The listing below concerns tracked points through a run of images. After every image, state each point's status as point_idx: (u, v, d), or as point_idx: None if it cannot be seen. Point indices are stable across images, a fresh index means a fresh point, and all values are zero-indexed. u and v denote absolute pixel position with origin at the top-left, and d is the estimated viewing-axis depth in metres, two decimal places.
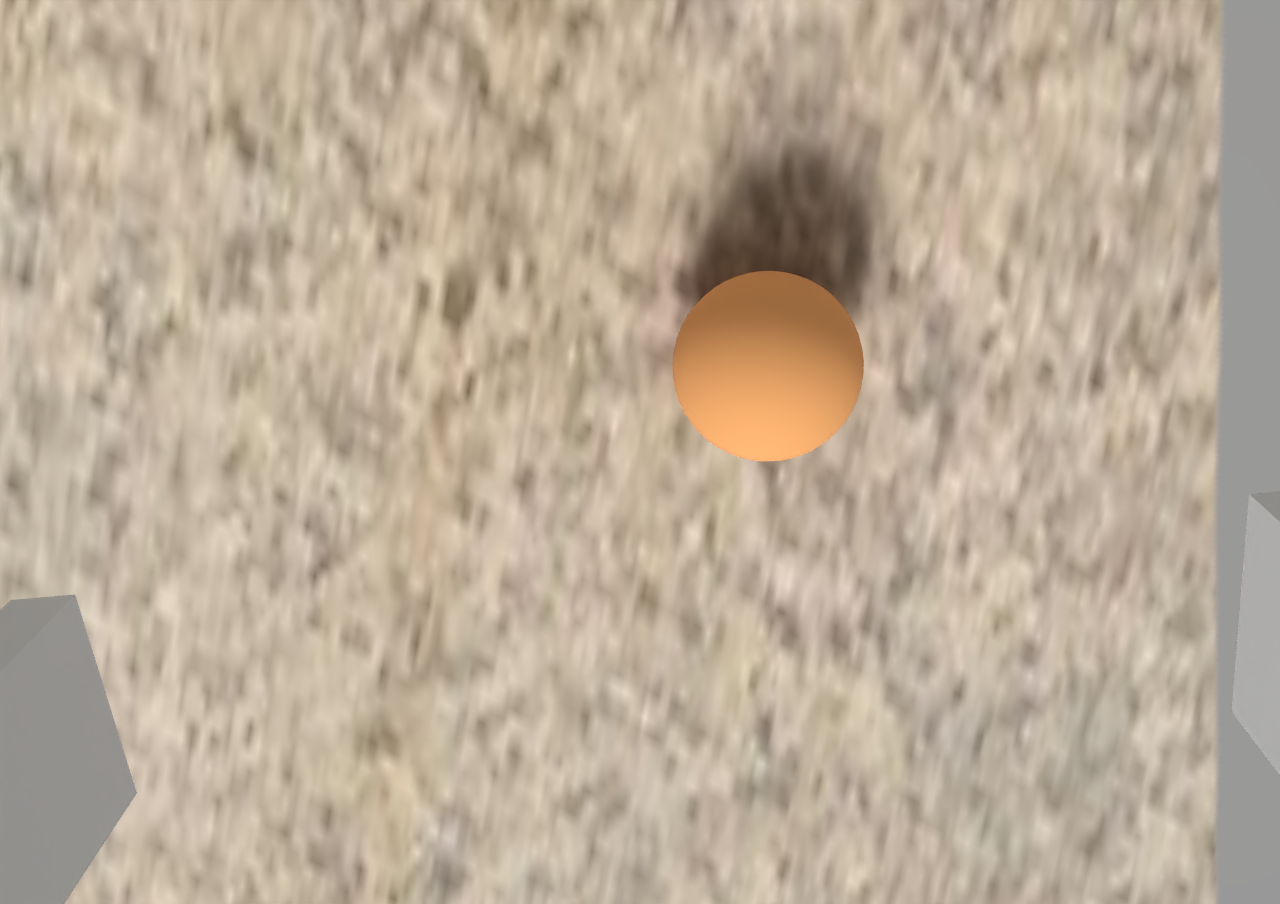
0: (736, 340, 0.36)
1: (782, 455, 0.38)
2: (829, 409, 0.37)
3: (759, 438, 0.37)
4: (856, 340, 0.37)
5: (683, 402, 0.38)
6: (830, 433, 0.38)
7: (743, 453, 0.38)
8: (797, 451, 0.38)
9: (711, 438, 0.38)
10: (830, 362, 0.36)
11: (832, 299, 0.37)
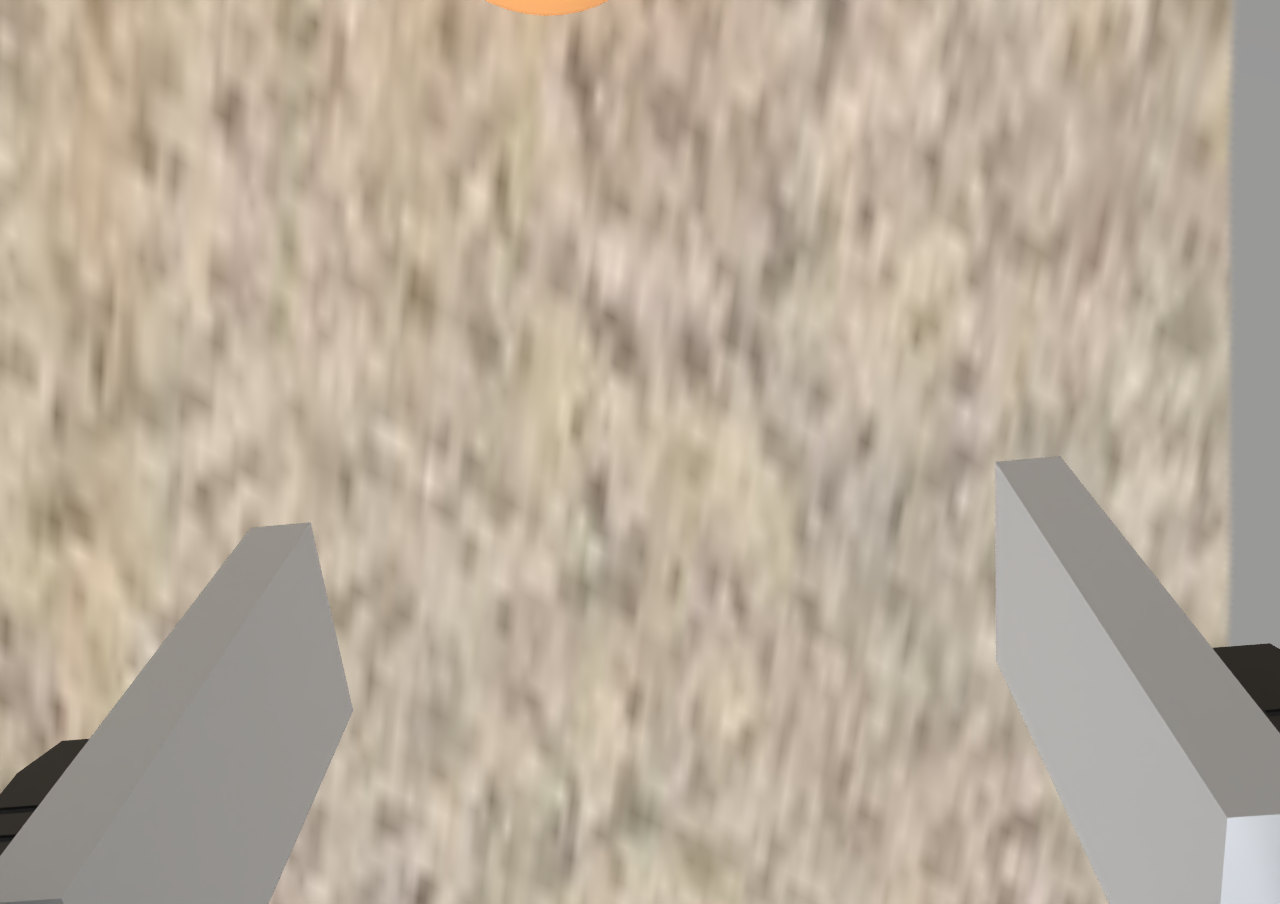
0: None
1: None
2: None
3: None
4: None
5: None
6: None
7: None
8: None
9: None
10: None
11: None
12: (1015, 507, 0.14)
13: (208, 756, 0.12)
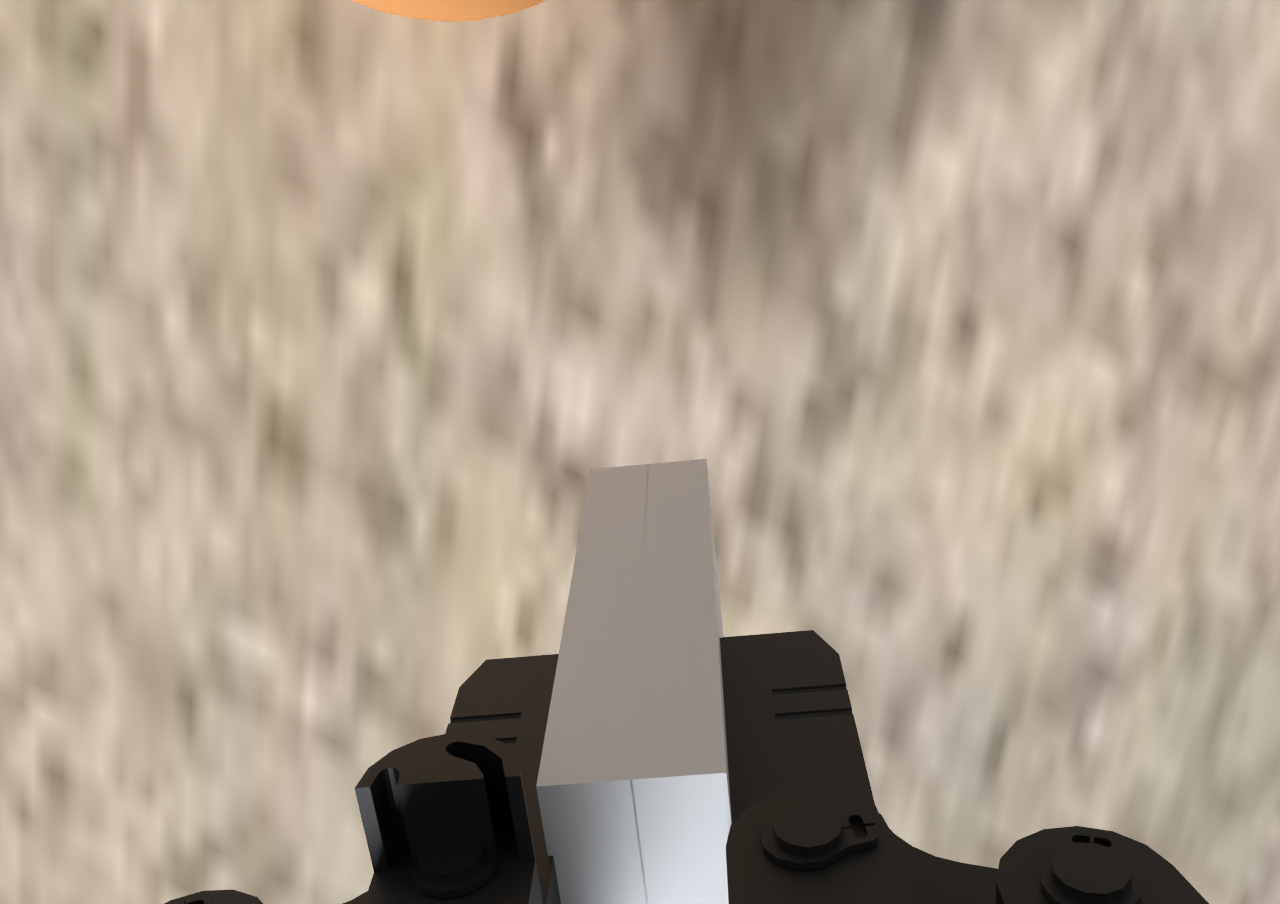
0: None
1: None
2: None
3: None
4: None
5: None
6: None
7: None
8: None
9: None
10: None
11: None
12: None
13: None
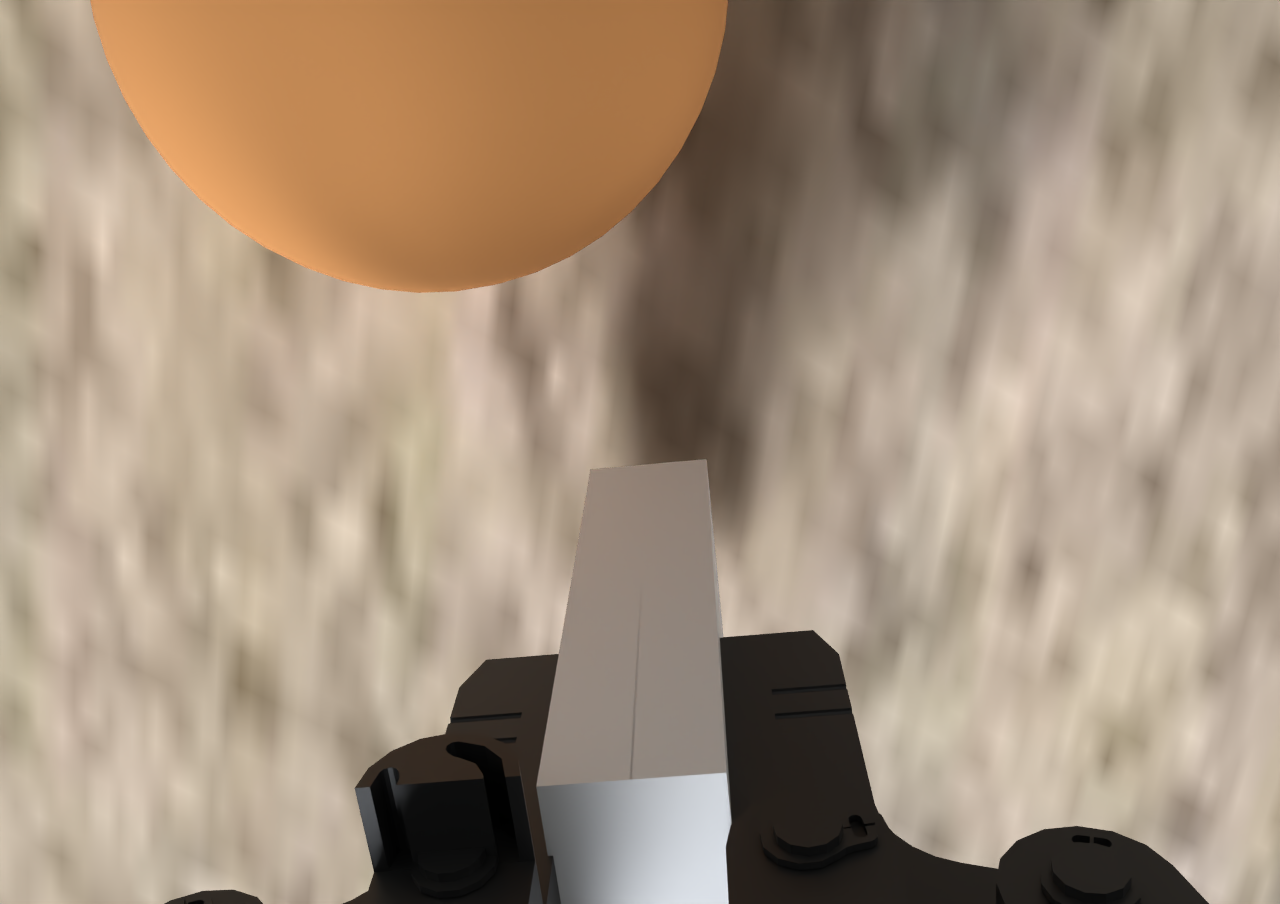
0: None
1: (442, 257, 0.11)
2: (576, 58, 0.10)
3: (326, 170, 0.10)
4: None
5: (117, 81, 0.11)
6: (607, 177, 0.11)
7: (313, 250, 0.11)
8: (492, 239, 0.11)
9: (210, 202, 0.11)
10: None
11: None
12: None
13: None
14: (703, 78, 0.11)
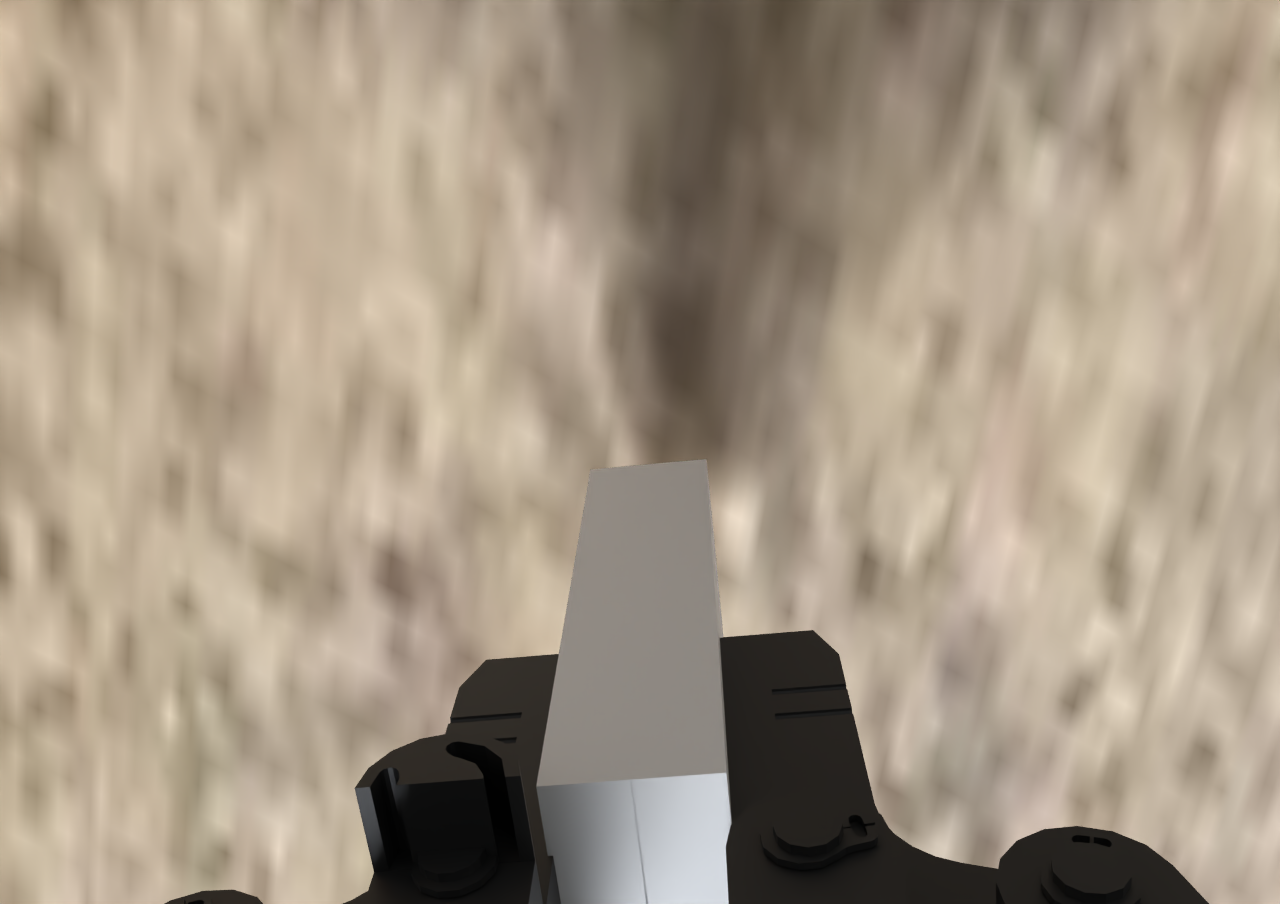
0: None
1: None
2: None
3: None
4: None
5: None
6: None
7: None
8: None
9: None
10: None
11: None
12: None
13: None
14: None
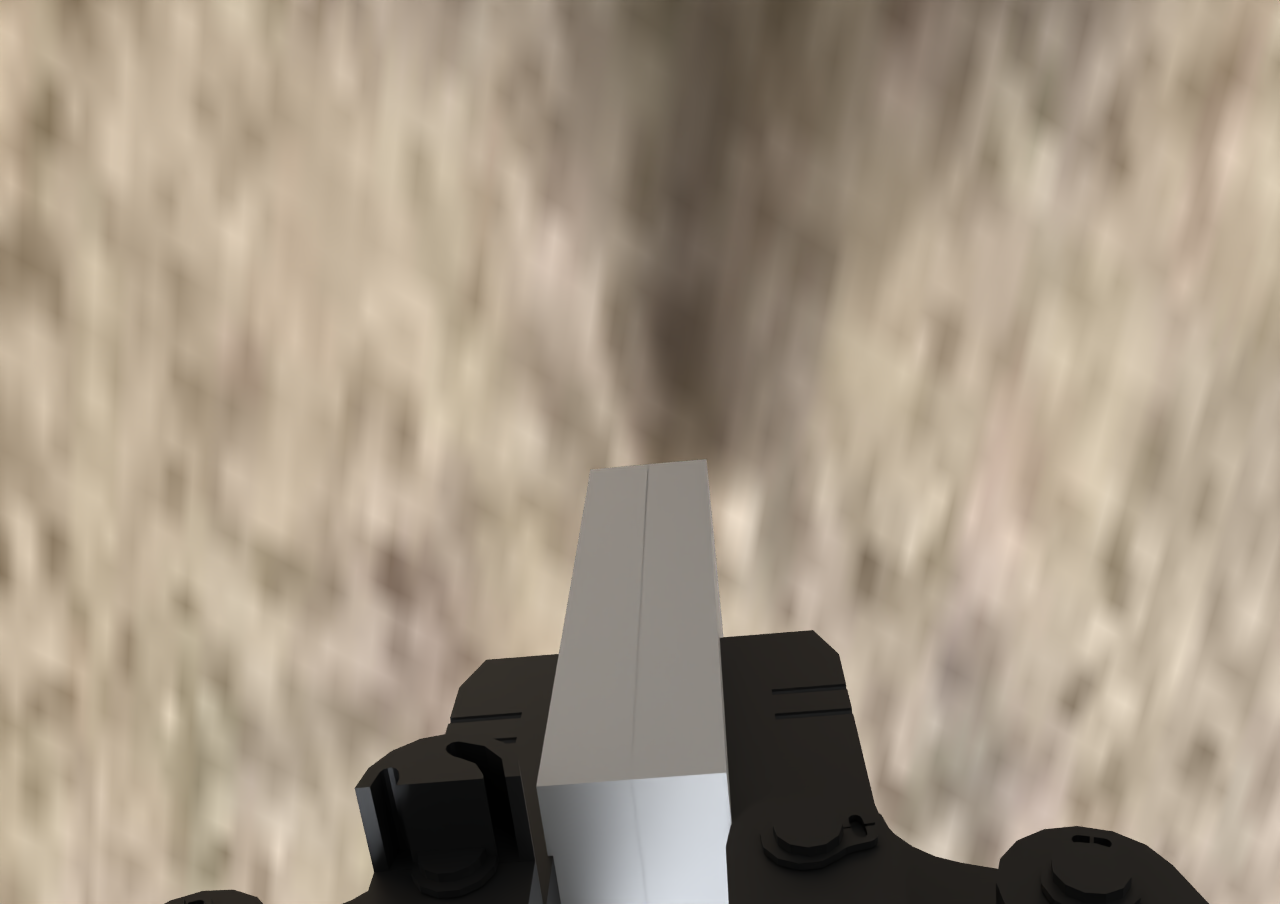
0: None
1: None
2: None
3: None
4: None
5: None
6: None
7: None
8: None
9: None
10: None
11: None
12: None
13: None
14: None
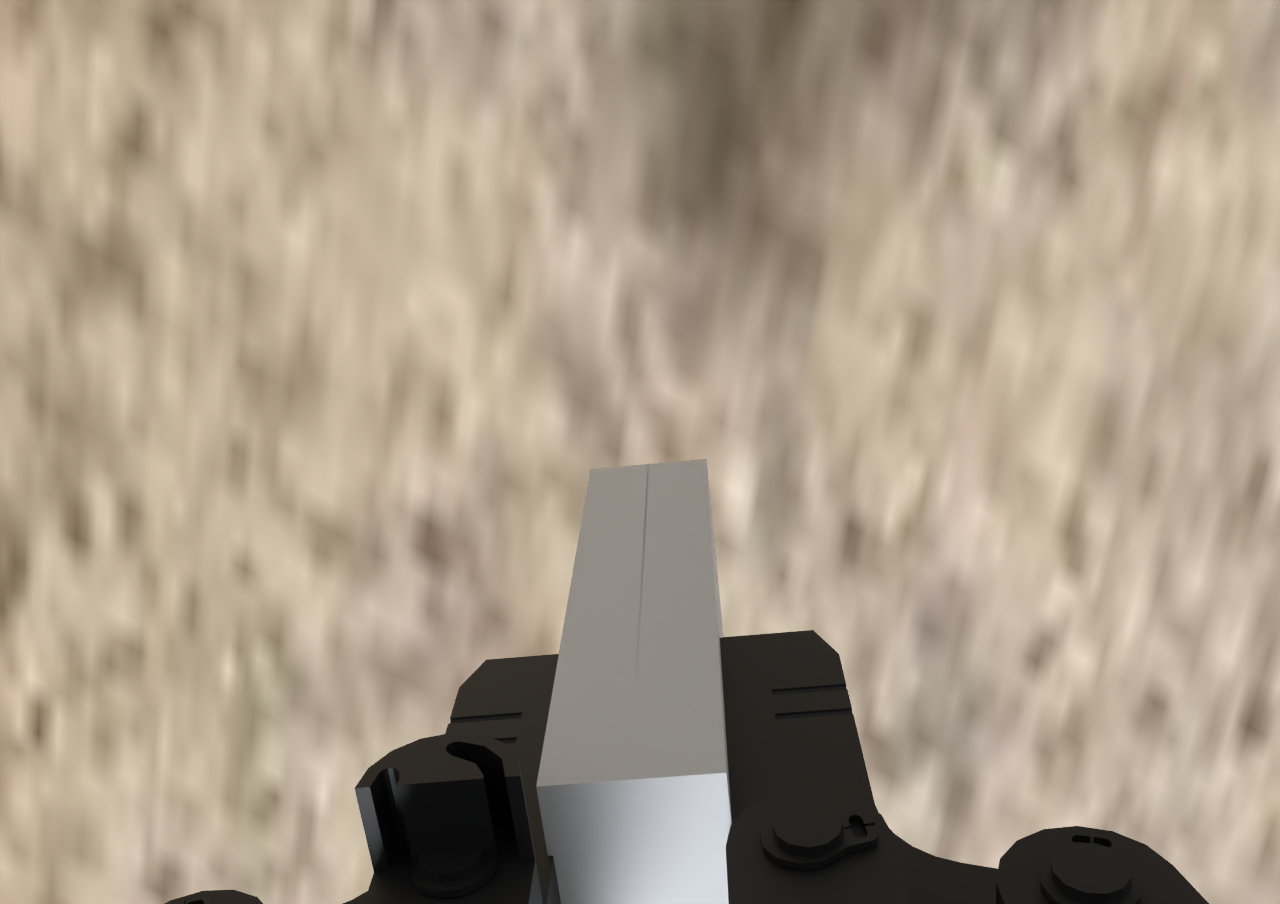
0: None
1: None
2: None
3: None
4: None
5: None
6: None
7: None
8: None
9: None
10: None
11: None
12: None
13: None
14: None
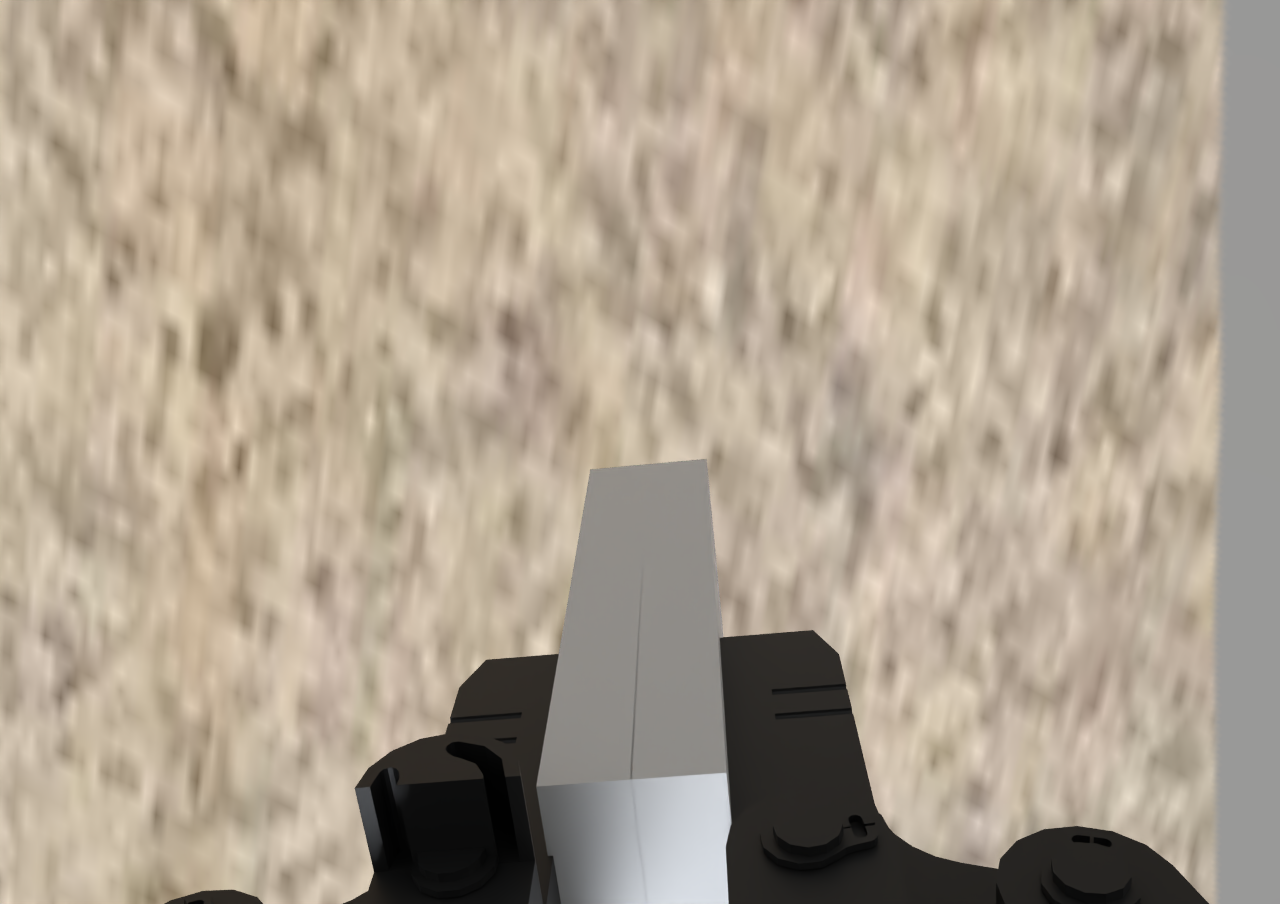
0: None
1: None
2: None
3: None
4: None
5: None
6: None
7: None
8: None
9: None
10: None
11: None
12: None
13: None
14: None
